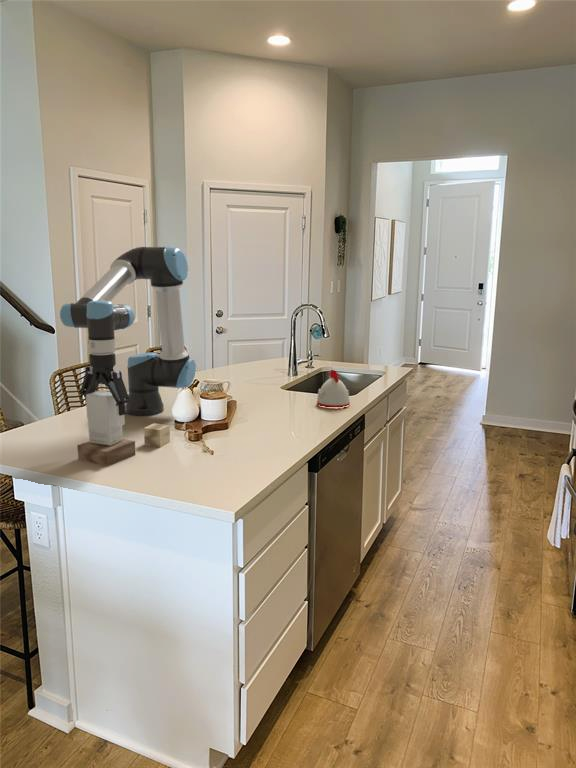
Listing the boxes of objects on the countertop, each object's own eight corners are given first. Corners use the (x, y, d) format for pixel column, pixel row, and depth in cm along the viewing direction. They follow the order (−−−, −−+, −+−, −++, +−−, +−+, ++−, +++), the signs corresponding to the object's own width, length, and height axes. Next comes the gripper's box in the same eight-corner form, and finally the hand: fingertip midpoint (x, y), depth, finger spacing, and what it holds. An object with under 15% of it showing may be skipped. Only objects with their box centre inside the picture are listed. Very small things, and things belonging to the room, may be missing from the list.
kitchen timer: (341, 400, 259) (342, 366, 256) (354, 407, 246) (356, 372, 243) (312, 402, 255) (313, 368, 251) (324, 410, 242) (325, 374, 239)
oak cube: (144, 445, 193) (143, 428, 192) (154, 440, 199) (153, 423, 198) (160, 447, 191) (159, 430, 190) (169, 442, 197) (169, 425, 196)
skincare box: (123, 441, 183) (122, 392, 180) (109, 446, 177) (107, 396, 174) (101, 437, 186) (100, 389, 183) (87, 442, 180) (85, 393, 177)
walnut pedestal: (78, 460, 179) (77, 445, 178) (107, 449, 190) (106, 435, 188) (107, 468, 174) (106, 452, 173) (135, 456, 184) (135, 441, 183)
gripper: (65, 350, 179) (69, 417, 184) (119, 359, 165) (123, 431, 170) (86, 347, 185) (90, 412, 190) (140, 355, 171) (142, 425, 176)
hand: (105, 421), depth 180 cm, fingers open, 13 cm apart
